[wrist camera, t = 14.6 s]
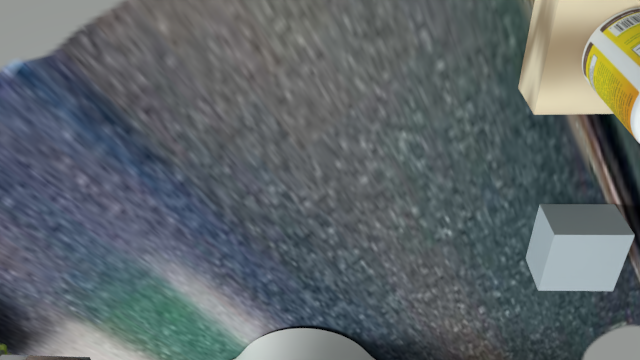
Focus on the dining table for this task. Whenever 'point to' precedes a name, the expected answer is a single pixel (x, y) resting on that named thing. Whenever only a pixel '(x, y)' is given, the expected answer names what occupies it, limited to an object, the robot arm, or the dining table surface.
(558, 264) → the greyblue block
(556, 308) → the dining table surface
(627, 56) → the supplement bottle
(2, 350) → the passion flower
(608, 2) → the beech block
